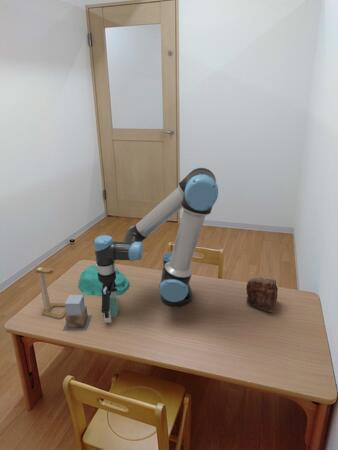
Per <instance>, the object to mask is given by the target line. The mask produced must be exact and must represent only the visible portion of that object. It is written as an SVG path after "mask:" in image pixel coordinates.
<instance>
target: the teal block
mask: <svg viewBox="0 0 338 450" xmlns="http://www.w3.org/2000/svg"><path fill="white" fill-rule="evenodd" d="M109 309H110V313H111V318H115V317H118V312H119V309H120V306H119V298H118V297H116V298H110V307H109ZM102 317H103V318H104V313H102Z"/></svg>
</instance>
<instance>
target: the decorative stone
mask: <svg viewBox="0 0 338 450" xmlns="http://www.w3.org/2000/svg"><path fill="white" fill-rule="evenodd" d="M95 265H96V264H91V265H90V266H88V267H87V268H86V267H85V269H83V271H81V274H80V278H79V280H78V285H77V288H78V289H79V291H80V292H81V293H82V295H83V296H84V295H85V296H95V297H102V291H101V290H102V289H103V288H102V286H103V283H101V282H100V281H99V280H98V271H97V266H95ZM115 268H116V267H115ZM115 271H116V279H115V283H116V287H115V288H117V291H115V292H116V297H117V296H122V295H124V294H125V293H126V292H127V290H129V288H130V286H131V283H130V281H129V279H128V278H127V277H126V276H125V274H124V273H123V272H120V270H119V269H118V268H116V269H115ZM108 293H109V292H108Z"/></svg>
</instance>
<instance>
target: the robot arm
mask: <svg viewBox="0 0 338 450" xmlns="http://www.w3.org/2000/svg"><path fill="white" fill-rule="evenodd" d="M215 176H216V175H215V174H214V173H213V172H212V171H211V170H210V169H208V168H206V167H198V168H194V169H192V170H191V171H190V172H189V173H188V174H187V175H185V177H184V178H182V180H181V181H180V182H178V184H177V185H178V187H176V188H175V189H174V190H173V191H172V192H171V193H170V194H168V196H166V197H165V198H164V199H163V200H162V201H161V202H160V203H158V204H157V205H156V206H155V207H154V208H153V209H152V210H151V211H150V212H148V213H147V214H146V215H145V216H144V217H142V218H141V219H140V220H139V221H138V222H136V224H135V225H132V226H130V227H129V228H128V230H126V232H125V235H124V238H123V239H122V241H114V239H113V237H112V236H111V235H106V234H104V235H103V234H102V235H98V236H97V237H96V238H95V239H94V254H95V255H94V256H95V261H96V262H95V264H94V265H95V266H97V271H98V280H99V281H100V282H101V283H103V286H102V288H103V289H102V290H101V291H102V296H101V314H103V313H104V317H103V320H104V323H106V324H107V323H112V317H111V313H110V309H109V307H110V298H117V296H116V292H115V291H117V288H115V287H116V283H115V279H116V271H115V269H116V263H115V262H116V261H130V262H131V261H132V262H133V261H141V260H142V259H143V257H144V244H143V242H144V241H145V240H147V238H148V237H149V236H150V235H152V234H153V233H154V232H155V231H156V230H157V229H159V228H160V227H162V226H163V224H165V223H166V222H168V220H169V219H171V218H172V217H173V216H174V215H175V214H176V213H178V212H179V211H180V210H183V211H182V216H181V219H180V222H179V227H178V229H177V232H176V233H177V234H176V237H175V240H174V244H173V249H172V251H168V252H166V253H164V254H163V256H162V271H161V278H160V283H159V286H158V288H159V289H158V290H159V293H160V300H161V302H162V303H164V304H165V305H167V306H169V307H183V306H185V305H188V304H190V303H191V302H192V299H193V291H192V288H191V286H190V282H191V278H192V275H193V269H192V268H191V265H192V263H193V259H194V255H195V251H196V248H197V245H198V243H199V239H200V236H201V235H200V234H201V233H202V229H203V225H204V223H205V219H206V216H208V215H211V213H212V209H213V207H214V205H215V203H216V202H217V200H218V197H219V188H218V184H217V180H216V177H215ZM108 292H109V293H108Z"/></svg>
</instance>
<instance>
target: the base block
mask: <svg viewBox="0 0 338 450" xmlns="http://www.w3.org/2000/svg"><path fill="white" fill-rule="evenodd" d="M87 307H88V306H87V305H85V308H84V310H83V313H82V315H81V316H67V314H66V315H65V316H64V318H65V324H67V328H84V327H85V324H86V321H87V319H88V315H89V313H88V309H87Z"/></svg>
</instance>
